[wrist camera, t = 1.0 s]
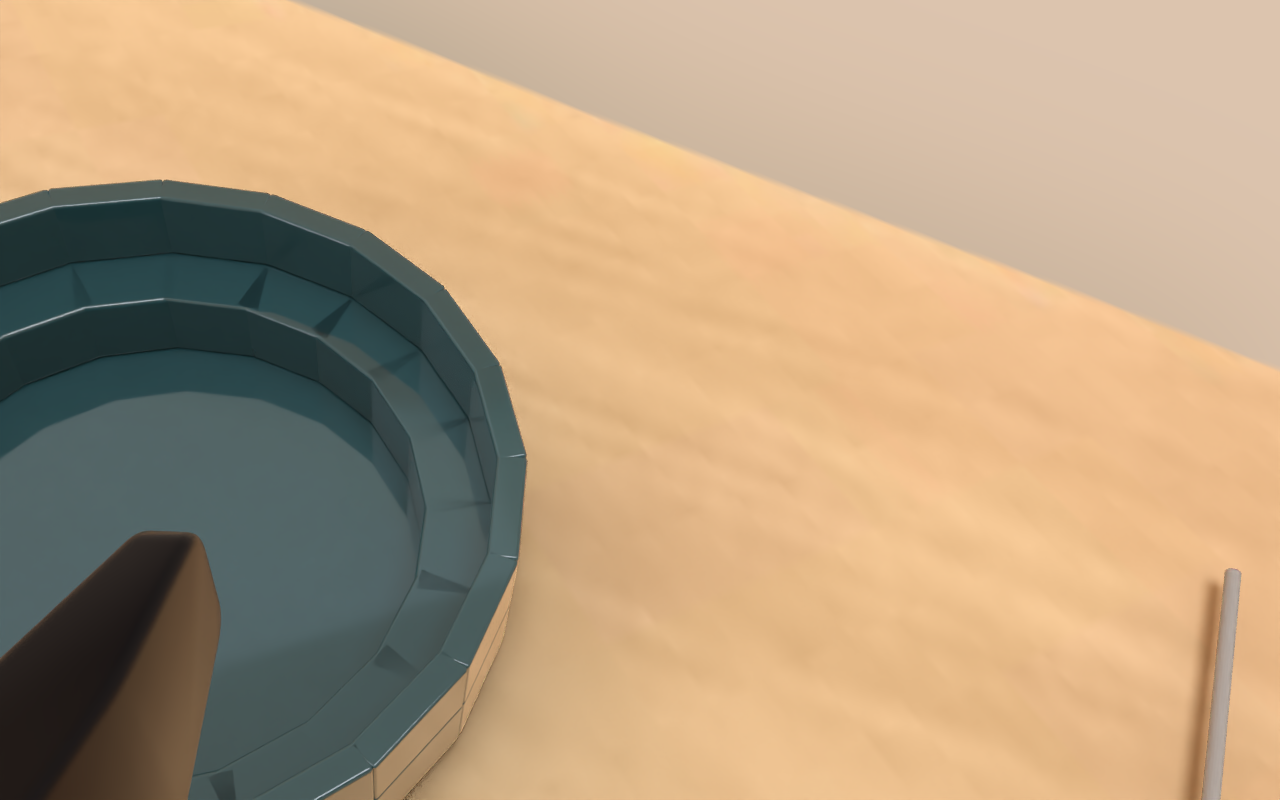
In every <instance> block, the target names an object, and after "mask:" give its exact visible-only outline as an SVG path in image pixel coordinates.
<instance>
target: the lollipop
mask: <svg viewBox="0 0 1280 800" xmlns="http://www.w3.org/2000/svg"><path fill="white" fill-rule="evenodd" d="M1240 582H1241V572H1240V571H1239V570H1237V569H1234V568H1229V569H1226V570H1225V576H1224V586H1223V595H1222V605H1221V615H1220V624H1219V634H1218V644H1217V654H1216V663H1215V673H1214V683H1213V692H1212V702H1211V712H1210V722H1209V731H1208V741H1207V751H1206V760H1205V770H1204V780H1203V790H1202V799H1201V800H1220V798H1221V787H1222V776H1223V765H1224V755H1225V744H1226V733H1227V722H1228V712H1229V701H1230V690H1231V679H1232V668H1233V658H1234V647H1235V636H1236V625H1237V615H1238V604H1239V593H1240Z"/></svg>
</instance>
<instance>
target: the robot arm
mask: <svg viewBox="0 0 1280 800" xmlns="http://www.w3.org/2000/svg"><path fill="white" fill-rule="evenodd" d="M220 628H221V609H220V603H219V599H218V595H217V592H216V588H215V584H214V580H213V577H212V573H211V569H210V566H209V562H208V558H207V554H206V551H205V547H204V545H203V542H202V540H201V539H200V538H199V537H198V536H197V535H196V534H193V533H189V532H170V531H143V532H140V533H137V534H136V535H134V536H132V537H131V538H129V539H128V540H127V541H126V542H125V543H124V544H123V545H122V546H121V547H119V548H118V549H117V550H116V551H115V552H114V553H113V554H112V555H111V556H110V557H109V558H108V559H107V560H105V561H104V562H103V563H102V564H101V565H100V566H99V567H98V568H97V569H96V570H95V571H94V572H93V573H91V574H90V575H89V576H88V577H87V578H86V579H85V580H84V581H83V582H82V583H81V584H80V585H79V586H77V587H76V588H75V589H74V590H73V591H72V592H71V593H70V594H69V595H68V596H67V597H66V598H65V599H63V600H62V601H61V602H60V603H59V604H58V605H57V606H56V607H55V608H54V609H53V610H52V611H51V612H49V613H48V614H47V615H46V616H45V617H44V618H43V619H42V620H41V621H40V622H39V623H38V624H37V625H35V626H34V627H33V628H32V629H31V630H30V631H29V632H28V633H27V634H26V635H25V636H24V637H23V638H21V639H20V640H19V641H18V642H17V643H16V644H15V645H14V646H13V647H12V648H11V649H10V650H9V651H7V652H6V653H5V654H4V655H3V656H2V657H1V658H0V800H188V795H189V789H190V784H191V779H192V774H193V769H194V764H195V759H196V754H197V749H198V744H199V739H200V734H201V729H202V723H203V718H204V713H205V708H206V703H207V698H208V693H209V688H210V683H211V678H212V673H213V668H214V663H215V658H216V652H217V647H218V642H219V637H220Z"/></svg>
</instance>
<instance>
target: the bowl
mask: <svg viewBox="0 0 1280 800" xmlns="http://www.w3.org/2000/svg"><path fill="white" fill-rule="evenodd" d="M526 457H527V454H526V450H525V447H524V443H523V440H522V436H521V433H520V429H519V426H518V422H517V419H516V415H515V412H514V408H513V405H512V401H511V398H510V394H509V391H508V387H507V384H506V380H505V377H504V373H503V370H502V367H501V366H500V364H499V361H498V360H497V359H496V357H495V356H494V355H493V353H492V352H491V350H490V349H489V348H488V346H487V345H486V344H485V342H484V341H483V339H482V338H481V337H480V335H479V334H478V333H477V331H476V330H475V328H474V327H473V326H472V324H471V323H470V322H469V320H468V319H467V317H466V316H465V315H464V313H463V312H462V311H461V309H460V308H459V306H458V305H457V304H456V302H455V301H454V299H453V298H452V297H451V295H450V294H449V293H448V291H447V290H446V289H445V288H444V286H443V285H441V284H440V283H439V282H437V281H436V280H434V279H433V278H432V277H430V276H429V275H428V274H426V273H425V272H424V271H422V270H421V269H419V268H418V267H417V266H415V265H414V264H413V263H411V262H410V261H409V260H407V259H406V258H404V257H403V256H402V255H400V254H399V253H398V252H396V251H395V250H394V249H392V248H391V247H389V246H388V245H387V244H385V243H384V242H383V241H381V240H380V239H379V238H377V237H376V236H374V235H373V234H372V233H370V232H369V231H365V230H364V229H362V228H360V227H357V226H354V225H352V224H349V223H347V222H344V221H341V220H339V219H336V218H333V217H331V216H328V215H326V214H323V213H320V212H318V211H315V210H313V209H310V208H307V207H305V206H302V205H300V204H297V203H294V202H292V201H289V200H286V199H284V198H281V197H279V196H276V195H270V194H268V193H263V192H256V191H248V190H240V189H233V188H225V187H218V186H210V185H203V184H195V183H188V182H180V181H172V180H164V181H162V180H147V181H135V182H123V183H111V184H99V185H87V186H75V187H63V188H51V189H49V191H47V190H42V191H39V192H35V193H32V194H29V195H25V196H22V197H19V198H15V199H12V200H9V201H5V202H2V203H0V658H1V657H2V656H3V655H4V654H5V653H6V652H7V651H9V650H10V649H11V648H12V647H13V646H14V645H15V644H16V643H17V642H18V641H19V640H20V639H21V638H23V637H24V636H25V635H26V634H27V633H28V632H29V631H30V630H31V629H32V628H33V627H34V626H35V625H37V624H38V623H39V622H40V621H41V620H42V619H43V618H44V617H45V616H46V615H47V614H48V613H49V612H51V611H52V610H53V609H54V608H55V607H56V606H57V605H58V604H59V603H60V602H61V601H62V600H63V599H65V598H66V597H67V596H68V595H69V594H70V593H71V592H72V591H73V590H74V589H75V588H76V587H77V586H79V585H80V584H81V583H82V582H83V581H84V580H85V579H86V578H87V577H88V576H89V575H90V574H91V573H93V572H94V571H95V570H96V569H97V568H98V567H99V566H100V565H101V564H102V563H103V562H104V561H105V560H107V559H108V558H109V557H110V556H111V555H112V554H113V553H114V552H115V551H116V550H117V549H118V548H119V547H121V546H122V545H123V544H124V543H125V542H126V541H127V540H128V539H129V538H131V537H132V536H134V535H136V534H137V533H140V532H143V531H170V532H189V533H193V534H196V535H197V536H198V537H199V538H200V539H201V540H202V542H203V545H204V547H205V551H206V554H207V558H208V562H209V566H210V569H211V573H212V577H213V580H214V584H215V588H216V592H217V595H218V599H219V603H220V609H221V628H220V637H219V642H218V647H217V652H216V658H215V663H214V668H213V673H212V678H211V683H210V688H209V693H208V698H207V703H206V708H205V713H204V718H203V723H202V729H201V734H200V739H199V744H198V749H197V754H196V759H195V764H194V769H193V774H192V779H191V784H190V789H189V795H188V800H403V798H404V797H405V796H406V795H407V794H408V793H409V792H410V791H411V790H412V788H413V787H414V786H415V785H416V784H417V783H418V782H419V781H420V780H421V779H422V777H423V776H424V775H425V774H426V773H427V772H428V771H429V770H430V769H431V767H432V766H433V765H434V764H435V763H436V762H437V761H438V760H439V759H440V757H441V756H442V755H443V754H444V753H445V752H446V751H447V750H448V749H449V748H450V746H451V745H452V744H453V743H454V742H455V741H456V740H457V738H458V735H460V734H461V732H462V729H463V727H464V725H465V723H466V721H467V718H468V716H469V714H470V712H471V709H472V707H473V705H474V703H475V701H476V698H477V696H478V694H479V692H480V690H481V687H482V685H483V683H484V681H485V679H486V676H487V674H488V672H489V670H490V667H491V665H492V663H493V661H494V659H495V656H496V654H497V652H498V650H499V648H500V645H501V643H502V641H503V637H504V633H505V628H506V623H507V618H508V613H509V608H510V603H511V597H512V593H513V588H514V583H515V578H516V573H517V567H518V562H519V555H520V544H521V532H522V520H523V508H524V497H525V485H526V473H527V459H526Z"/></svg>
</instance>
